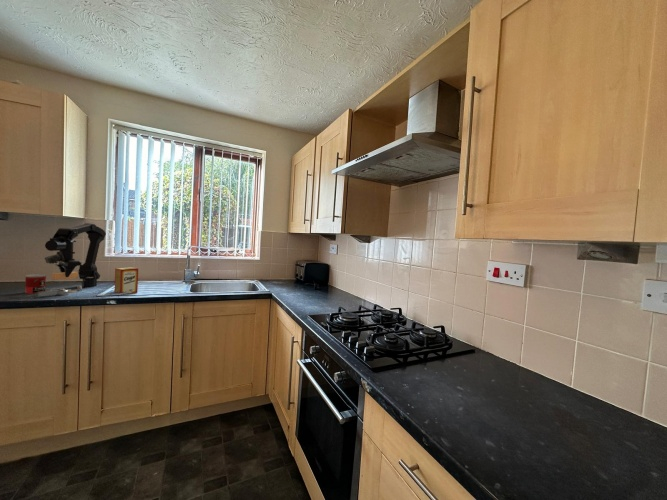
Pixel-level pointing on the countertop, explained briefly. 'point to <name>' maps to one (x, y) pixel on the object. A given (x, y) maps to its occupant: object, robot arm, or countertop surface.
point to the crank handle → (54, 292)
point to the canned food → (35, 283)
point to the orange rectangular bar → (62, 276)
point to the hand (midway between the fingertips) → (65, 276)
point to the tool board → (79, 288)
